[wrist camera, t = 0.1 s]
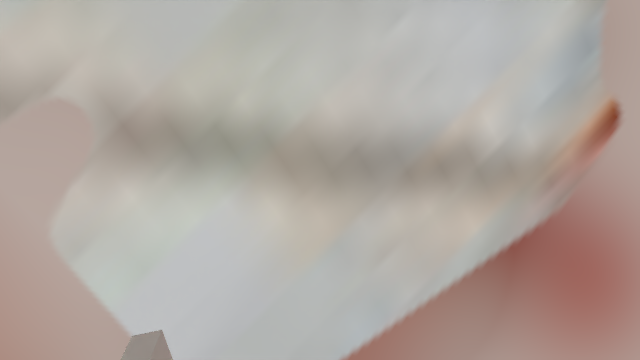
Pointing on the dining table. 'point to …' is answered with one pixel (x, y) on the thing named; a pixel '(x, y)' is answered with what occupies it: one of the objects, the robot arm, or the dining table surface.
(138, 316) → the dining table surface
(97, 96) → the dining table surface
